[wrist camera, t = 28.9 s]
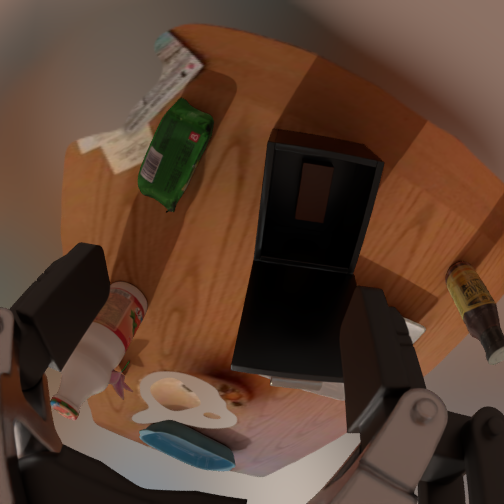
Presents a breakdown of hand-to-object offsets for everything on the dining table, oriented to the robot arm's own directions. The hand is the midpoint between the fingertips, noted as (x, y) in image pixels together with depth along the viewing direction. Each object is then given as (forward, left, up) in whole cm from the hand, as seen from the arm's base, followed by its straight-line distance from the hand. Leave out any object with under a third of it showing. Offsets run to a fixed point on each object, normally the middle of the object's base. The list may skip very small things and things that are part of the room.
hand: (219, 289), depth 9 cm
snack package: (+5, -13, -34) cm, 37 cm away
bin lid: (+15, +6, -16) cm, 22 cm away
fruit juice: (+35, -25, -34) cm, 55 cm away
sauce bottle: (+18, +36, -34) cm, 53 cm away
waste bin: (+8, +6, -34) cm, 35 cm away
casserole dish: (+100, -15, -34) cm, 107 cm away
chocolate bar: (+8, +6, -33) cm, 35 cm away
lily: (+60, -32, -34) cm, 76 cm away
